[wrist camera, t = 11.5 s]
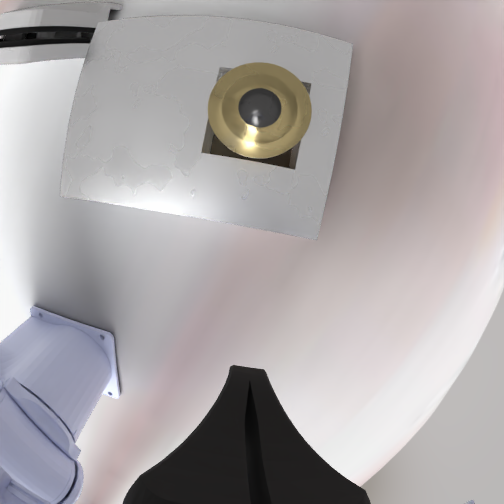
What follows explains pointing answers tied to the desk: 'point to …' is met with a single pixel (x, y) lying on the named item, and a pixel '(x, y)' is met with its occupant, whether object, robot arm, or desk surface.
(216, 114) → the bushing
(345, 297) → the desk surface
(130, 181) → the jig
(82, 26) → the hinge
